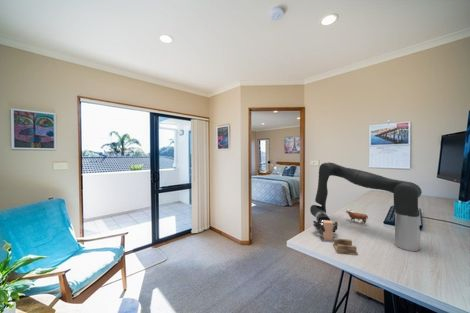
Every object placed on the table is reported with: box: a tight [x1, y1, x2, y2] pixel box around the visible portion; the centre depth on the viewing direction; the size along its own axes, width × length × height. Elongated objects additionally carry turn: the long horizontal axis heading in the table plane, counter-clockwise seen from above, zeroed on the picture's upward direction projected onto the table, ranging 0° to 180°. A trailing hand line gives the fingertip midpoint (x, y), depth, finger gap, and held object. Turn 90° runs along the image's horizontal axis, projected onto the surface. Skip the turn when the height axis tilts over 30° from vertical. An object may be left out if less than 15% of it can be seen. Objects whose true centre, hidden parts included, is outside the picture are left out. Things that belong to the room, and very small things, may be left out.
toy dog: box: [345, 208, 369, 226], centre depth 128 cm, size 4×13×8 cm, turn 37°
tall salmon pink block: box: [322, 220, 334, 241], centre depth 106 cm, size 4×4×10 cm
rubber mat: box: [319, 234, 336, 244], centre depth 106 cm, size 8×8×1 cm
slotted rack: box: [332, 238, 359, 256], centre depth 95 cm, size 9×8×4 cm
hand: (329, 230), depth 103 cm, fingers closed on tall salmon pink block, 4 cm apart
